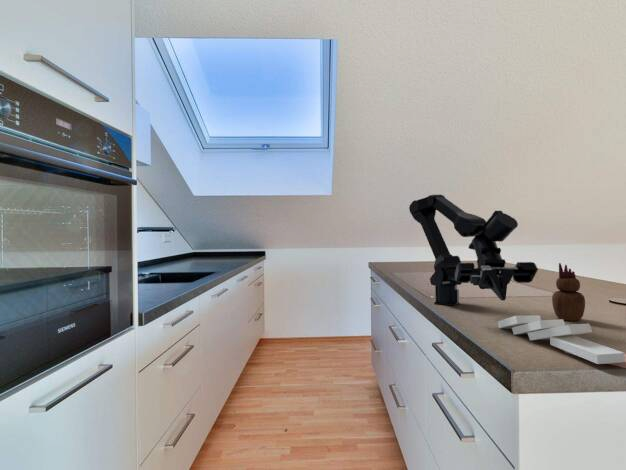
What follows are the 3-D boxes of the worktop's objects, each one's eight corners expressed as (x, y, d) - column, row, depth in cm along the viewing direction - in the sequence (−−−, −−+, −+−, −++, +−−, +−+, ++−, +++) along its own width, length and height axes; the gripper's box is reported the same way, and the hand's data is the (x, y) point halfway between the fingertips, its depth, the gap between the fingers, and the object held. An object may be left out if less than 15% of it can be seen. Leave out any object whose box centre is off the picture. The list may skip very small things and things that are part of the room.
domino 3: (527, 332, 71) (568, 324, 62) (546, 331, 72) (589, 323, 63) (530, 340, 70) (571, 333, 61) (549, 339, 71) (592, 332, 62)
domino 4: (550, 336, 65) (597, 354, 55) (573, 335, 66) (624, 352, 56) (550, 344, 65) (597, 364, 55) (573, 343, 66) (624, 362, 56)
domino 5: (563, 346, 64) (632, 364, 55) (575, 342, 66) (643, 357, 58) (564, 355, 64) (632, 373, 55) (575, 349, 66) (643, 366, 58)
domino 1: (497, 321, 81) (515, 315, 71) (518, 321, 80) (540, 315, 71) (498, 328, 80) (517, 323, 71) (520, 328, 79) (541, 323, 70)
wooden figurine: (555, 320, 85) (553, 263, 85) (550, 315, 90) (549, 261, 90) (588, 323, 81) (586, 264, 81) (581, 318, 87) (580, 262, 86)
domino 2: (511, 327, 75) (539, 320, 66) (532, 326, 76) (563, 319, 66) (513, 334, 75) (541, 328, 66) (535, 333, 75) (565, 327, 66)
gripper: (515, 269, 94) (534, 317, 84) (447, 270, 98) (458, 315, 87) (527, 243, 87) (550, 292, 76) (453, 245, 90) (465, 292, 79)
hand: (503, 299), depth 80 cm, fingers closed
